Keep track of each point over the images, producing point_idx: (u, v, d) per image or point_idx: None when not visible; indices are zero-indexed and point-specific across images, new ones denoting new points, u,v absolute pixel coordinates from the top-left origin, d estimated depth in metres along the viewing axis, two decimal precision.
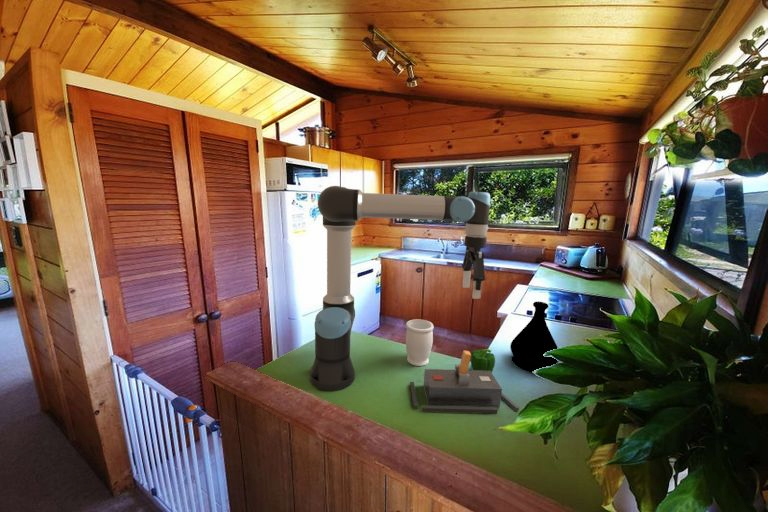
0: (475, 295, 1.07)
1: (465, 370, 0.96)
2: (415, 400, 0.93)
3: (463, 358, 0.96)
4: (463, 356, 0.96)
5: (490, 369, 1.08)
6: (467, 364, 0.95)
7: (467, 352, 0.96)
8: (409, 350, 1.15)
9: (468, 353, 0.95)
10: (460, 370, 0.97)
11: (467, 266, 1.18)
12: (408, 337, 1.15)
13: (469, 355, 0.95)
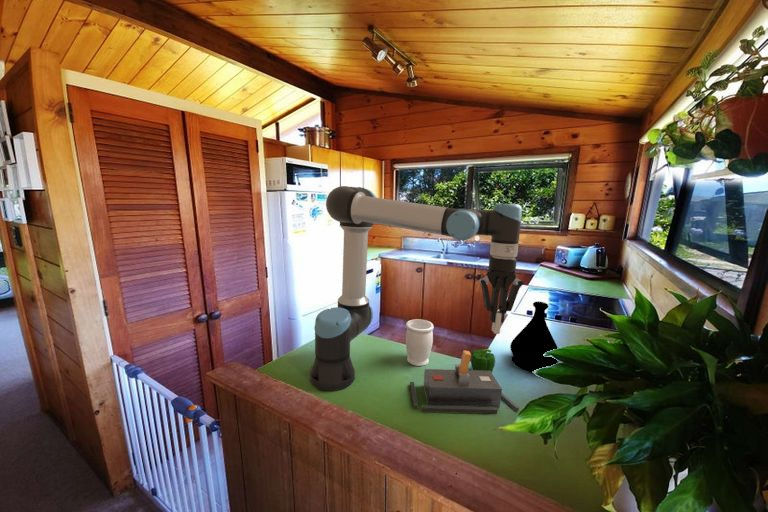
0: (493, 327, 0.95)
1: (465, 370, 0.96)
2: (415, 400, 0.93)
3: (463, 358, 0.96)
4: (463, 356, 0.96)
5: (490, 369, 1.08)
6: (467, 364, 0.95)
7: (467, 352, 0.96)
8: (409, 350, 1.15)
9: (468, 353, 0.95)
10: (460, 370, 0.97)
11: (500, 301, 0.93)
12: (408, 337, 1.15)
13: (469, 355, 0.95)
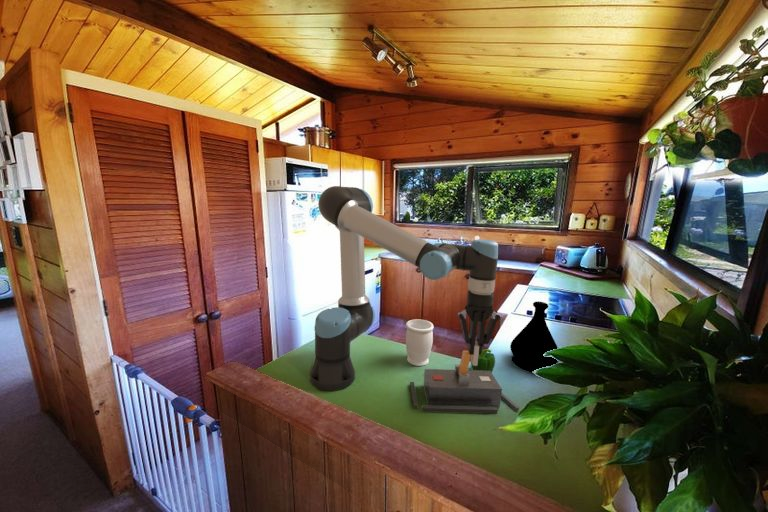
0: (471, 359, 0.97)
1: (465, 370, 0.96)
2: (415, 400, 0.93)
3: (463, 358, 0.96)
4: (463, 356, 0.96)
5: (490, 369, 1.08)
6: (467, 364, 0.95)
7: (467, 352, 0.96)
8: (409, 350, 1.15)
9: (468, 353, 0.95)
10: (460, 370, 0.97)
11: (478, 334, 0.95)
12: (408, 337, 1.15)
13: (469, 355, 0.95)
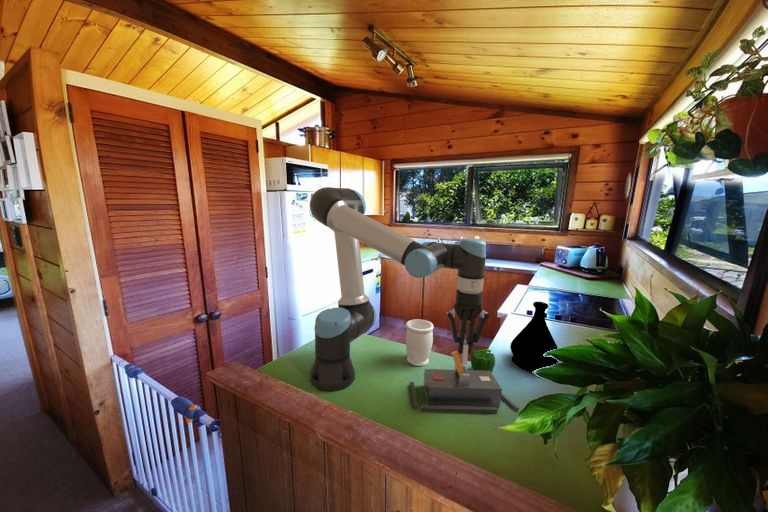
0: (461, 358, 0.97)
1: (461, 370, 0.96)
2: (415, 400, 0.93)
3: (454, 360, 0.96)
4: (453, 358, 0.96)
5: (490, 369, 1.08)
6: (460, 364, 0.95)
7: (455, 353, 0.96)
8: (409, 350, 1.15)
9: (456, 354, 0.95)
10: (457, 371, 0.97)
11: (467, 333, 0.95)
12: (408, 337, 1.15)
13: (457, 355, 0.95)
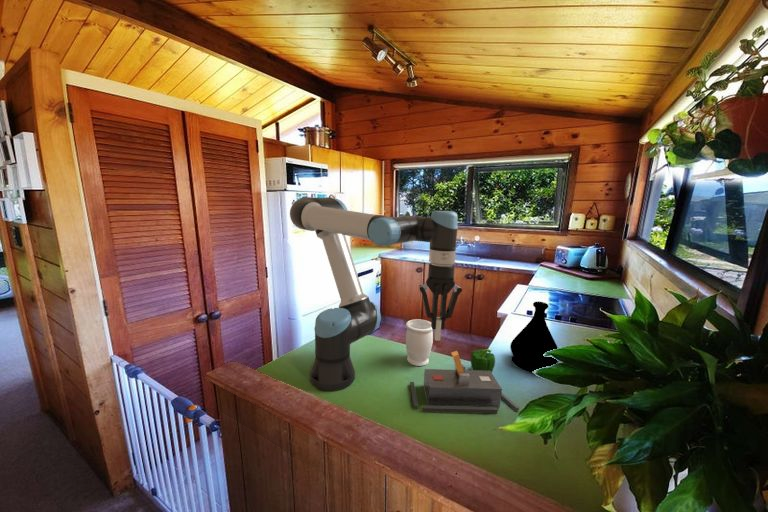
0: (434, 334, 0.95)
1: (461, 370, 0.96)
2: (415, 400, 0.93)
3: (454, 360, 0.96)
4: (453, 358, 0.96)
5: (490, 369, 1.08)
6: (460, 364, 0.95)
7: (455, 353, 0.96)
8: (409, 350, 1.15)
9: (456, 354, 0.95)
10: (457, 371, 0.97)
11: (440, 308, 0.93)
12: (408, 337, 1.15)
13: (457, 355, 0.95)
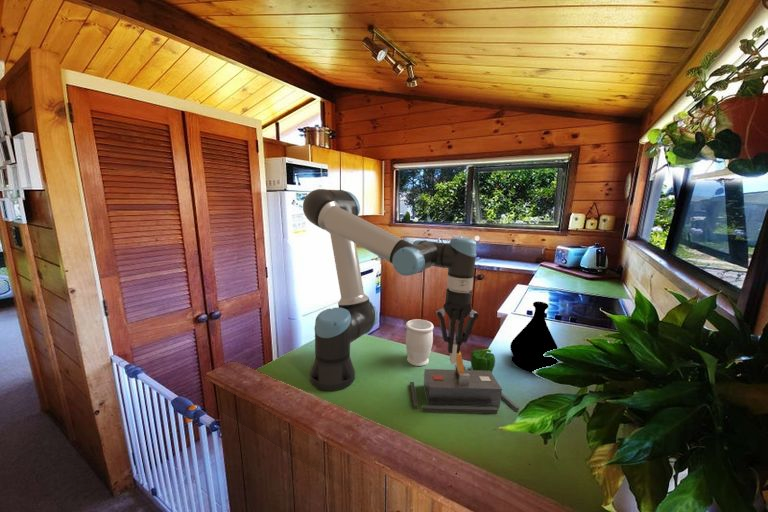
0: (450, 357, 0.96)
1: (462, 370, 0.96)
2: (415, 400, 0.93)
3: (456, 359, 0.96)
4: None
5: (490, 369, 1.08)
6: (461, 364, 0.95)
7: None
8: (409, 350, 1.15)
9: (458, 353, 0.95)
10: (458, 371, 0.97)
11: (456, 332, 0.95)
12: (408, 337, 1.15)
13: (459, 355, 0.95)
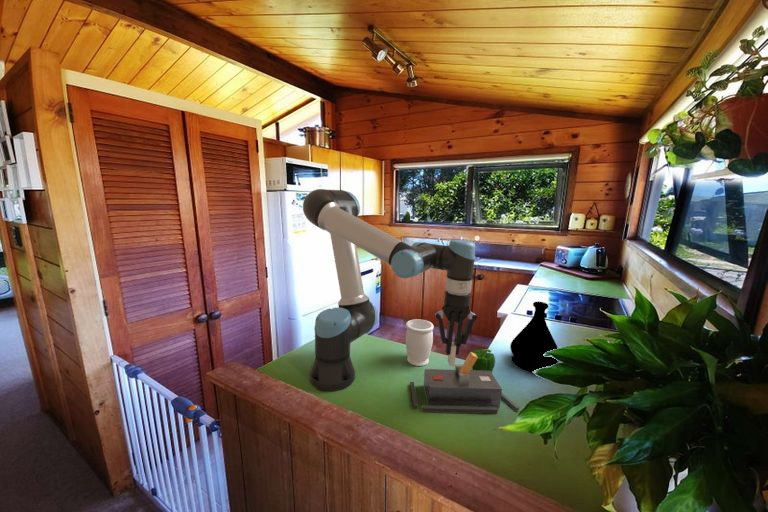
0: (448, 359, 0.97)
1: (467, 371, 0.96)
2: (415, 400, 0.93)
3: (468, 359, 0.96)
4: (469, 357, 0.96)
5: (490, 369, 1.08)
6: (471, 366, 0.95)
7: (474, 354, 0.96)
8: (409, 350, 1.15)
9: (475, 355, 0.96)
10: (462, 370, 0.97)
11: (455, 334, 0.95)
12: (408, 337, 1.15)
13: (475, 357, 0.95)
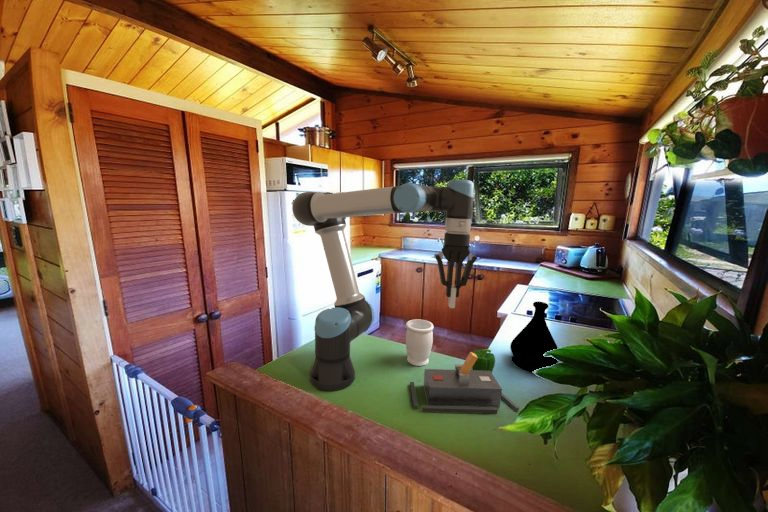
0: (449, 302, 0.97)
1: (467, 371, 0.96)
2: (415, 400, 0.93)
3: (468, 359, 0.96)
4: (469, 357, 0.96)
5: (490, 369, 1.08)
6: (471, 366, 0.95)
7: (474, 354, 0.96)
8: (409, 350, 1.15)
9: (475, 355, 0.96)
10: (462, 370, 0.97)
11: (455, 276, 0.96)
12: (408, 337, 1.15)
13: (475, 357, 0.95)
